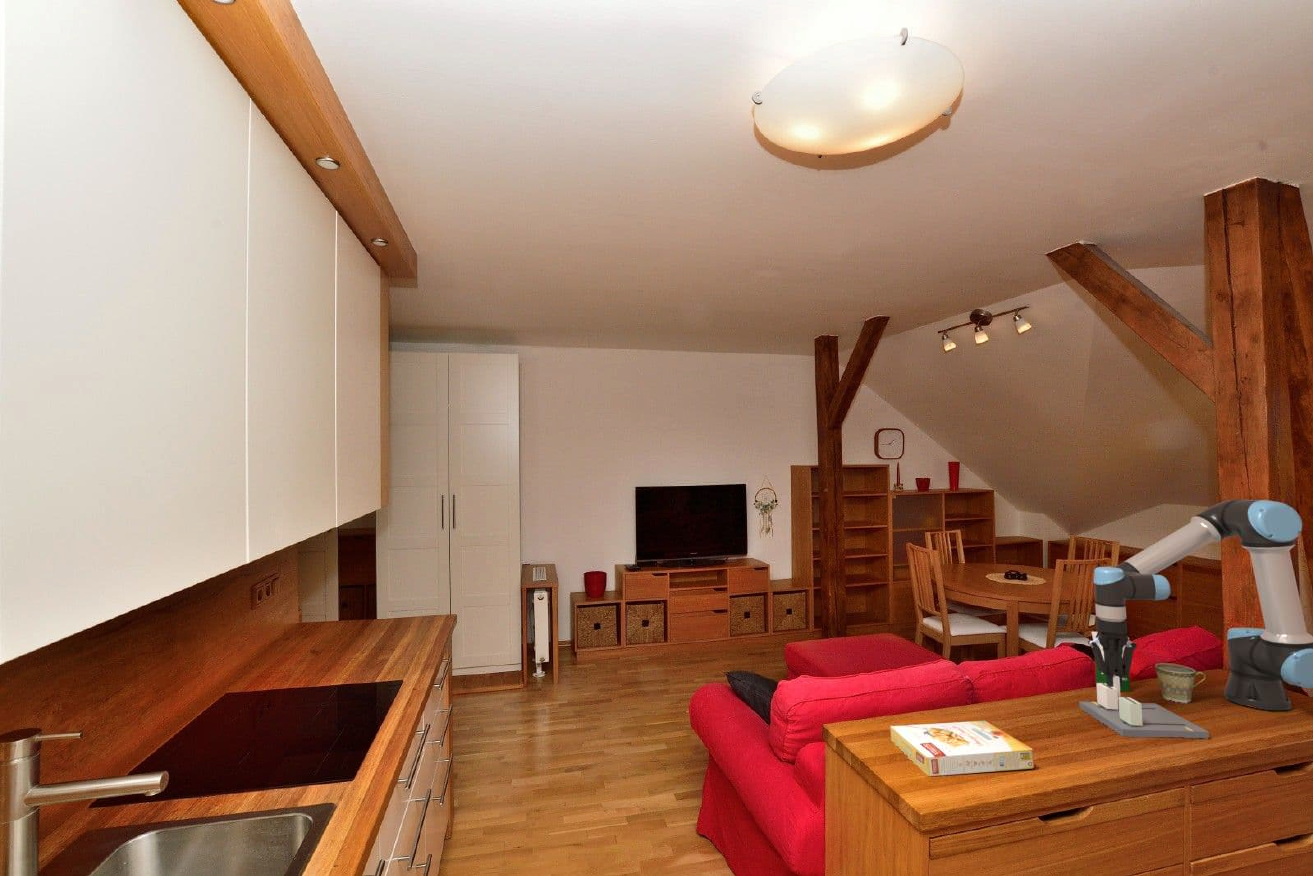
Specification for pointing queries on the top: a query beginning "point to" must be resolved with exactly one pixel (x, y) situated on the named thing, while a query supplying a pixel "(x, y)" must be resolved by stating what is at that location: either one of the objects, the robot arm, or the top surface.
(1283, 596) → the robot arm
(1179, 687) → the ceramic cup
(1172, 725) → the console
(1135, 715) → the fader
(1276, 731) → the top surface
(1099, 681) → the milk carton
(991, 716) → the top surface
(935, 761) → the cereal box
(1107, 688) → the block
